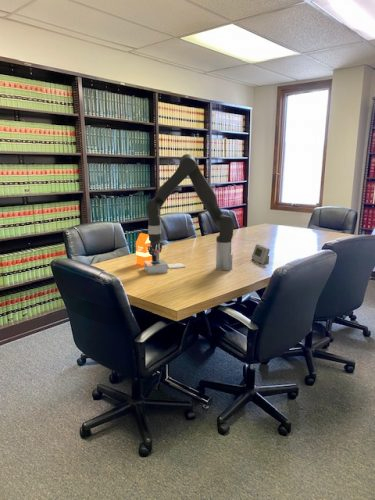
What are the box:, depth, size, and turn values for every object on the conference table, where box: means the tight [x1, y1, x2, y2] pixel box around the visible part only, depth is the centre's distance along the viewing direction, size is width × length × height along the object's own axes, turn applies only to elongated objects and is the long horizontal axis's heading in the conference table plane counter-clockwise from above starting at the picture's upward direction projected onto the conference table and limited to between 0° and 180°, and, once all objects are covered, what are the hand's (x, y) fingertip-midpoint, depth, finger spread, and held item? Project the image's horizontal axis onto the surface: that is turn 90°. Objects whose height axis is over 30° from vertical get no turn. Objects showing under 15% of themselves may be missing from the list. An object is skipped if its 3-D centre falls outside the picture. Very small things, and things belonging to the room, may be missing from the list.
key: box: [152, 249, 161, 264], centre depth 224 cm, size 4×4×11 cm
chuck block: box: [143, 259, 169, 275], centre depth 225 cm, size 12×12×5 cm
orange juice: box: [135, 232, 152, 266], centre depth 239 cm, size 8×9×20 cm
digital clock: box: [251, 243, 271, 265], centre depth 243 cm, size 16×9×11 cm, turn 5°
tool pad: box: [167, 262, 186, 270], centre depth 234 cm, size 10×8×1 cm
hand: (155, 260), depth 224 cm, fingers closed on key, 3 cm apart
